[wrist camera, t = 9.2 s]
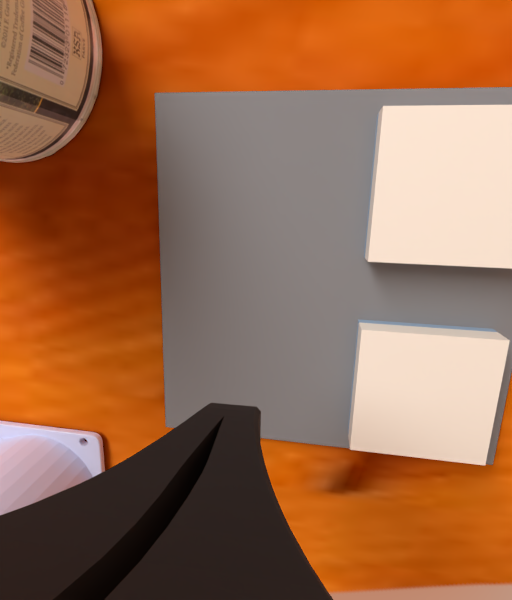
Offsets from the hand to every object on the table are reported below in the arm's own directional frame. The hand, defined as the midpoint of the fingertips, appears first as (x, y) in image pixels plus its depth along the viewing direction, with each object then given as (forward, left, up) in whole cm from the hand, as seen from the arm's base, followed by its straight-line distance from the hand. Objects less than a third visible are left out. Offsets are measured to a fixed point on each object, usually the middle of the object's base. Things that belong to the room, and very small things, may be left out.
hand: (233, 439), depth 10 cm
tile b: (+4, +7, -9) cm, 12 cm away
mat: (+3, +2, -10) cm, 10 cm away
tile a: (+4, -2, -9) cm, 10 cm away
